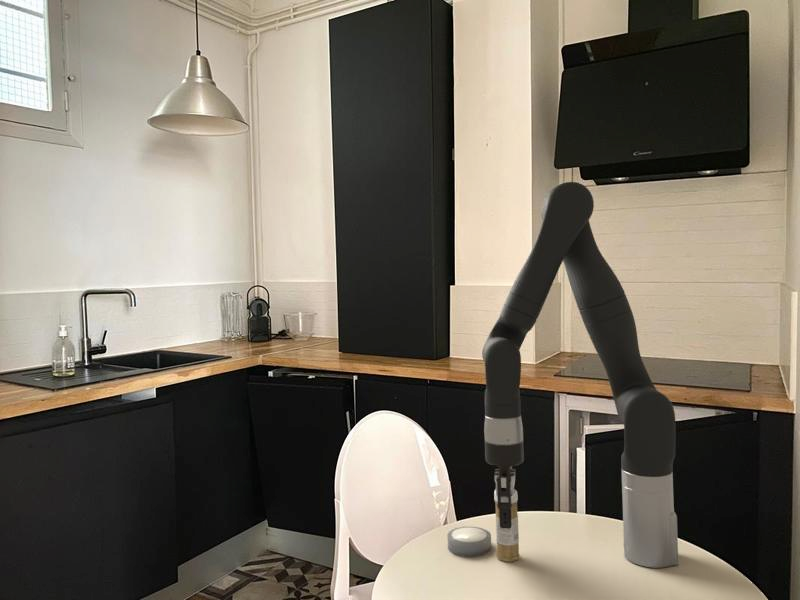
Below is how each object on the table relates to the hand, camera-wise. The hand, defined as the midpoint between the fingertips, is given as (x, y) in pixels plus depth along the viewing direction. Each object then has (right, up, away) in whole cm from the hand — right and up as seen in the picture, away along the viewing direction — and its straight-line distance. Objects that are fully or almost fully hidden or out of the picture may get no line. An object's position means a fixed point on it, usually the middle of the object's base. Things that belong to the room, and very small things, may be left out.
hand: (506, 519), depth 121 cm
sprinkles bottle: (0, -8, 0) cm, 8 cm away
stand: (-7, -8, +6) cm, 12 cm away
